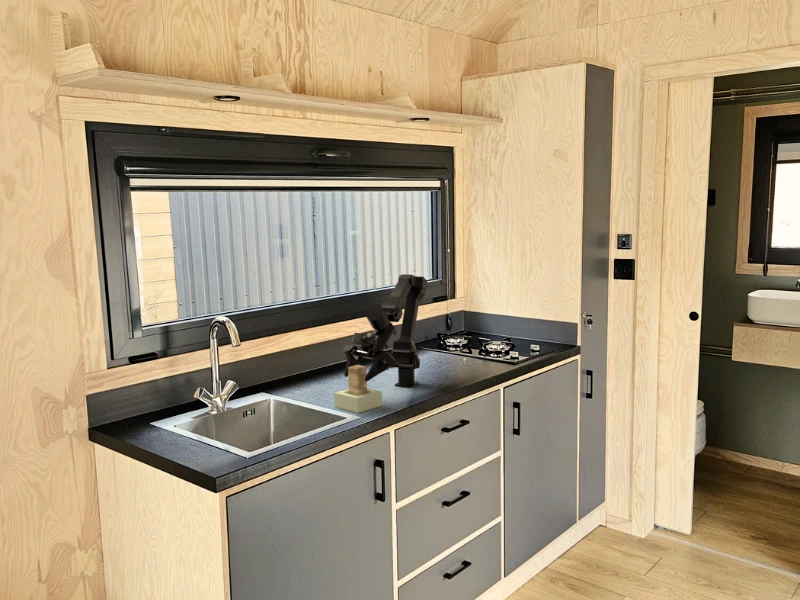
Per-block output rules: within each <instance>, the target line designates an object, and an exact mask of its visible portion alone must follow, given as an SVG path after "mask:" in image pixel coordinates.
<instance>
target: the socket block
mask: <svg viewBox="0 0 800 600" xmlns="http://www.w3.org/2000/svg"><path fill="white" fill-rule="evenodd" d="M382 392H383V391H381V390H377V389H374V388H373V389H372V388H368V387H367V393H366V394H363V395H359V396H356V395H352V394H349V388H346V389H343V390H340V391H335V392H334V394H333V397H334V408H337V409H341V410H345V411H348V412H353V413H356V414H359V413H362V412H366V411H369V410H372V409H374V408H379V407H381V406H383V395H382Z"/></svg>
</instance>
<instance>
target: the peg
mask: <svg viewBox="0 0 800 600" xmlns="http://www.w3.org/2000/svg"><path fill="white" fill-rule="evenodd" d="M367 373H368V371H367V366H365V365H360V364H359V365H355V366H351V367H348V376H347V377H348V389H349V394H352V395H356V396H359V395H363V394H366V393H367V388H368V381H367V382H366V381H365V377H366V375H367Z"/></svg>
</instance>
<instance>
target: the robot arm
mask: <svg viewBox="0 0 800 600" xmlns="http://www.w3.org/2000/svg"><path fill="white" fill-rule="evenodd" d="M397 280H398V281H397V282H396V284H395V286H394V288H393V289H392V291H391V293H390V295H389V297H388V298H386V299H384V300H383V301H381V303H380V302H379V303H378V302H375V303H374V305H373V306H370V307H369V308H368V309H367V310H366V311H365V318H366V320H367V321H368V323H369V324H370V326H371V328H372V329H373V331H372V332H368V333H367V334H364V333H360V332H354V333H353V336H352V340H351V343H353V344H354V345H353V344H346V345H345V346H344V347H343V349H342V351H343V353H344V355H345V356H346V365H345V368H344V369H345V371H344V373H343V374H344V375H343V376H344V377H345V378H347V377H348V367H351V366H355V365H360V364H361V362H362V361H363V359H367V360H368V359H369V360H372V364H371V366H370V367H369V370H368V371H367V375H366V377H365V381H366V382H367V383H368V382H369V381H371V380H372V379H373V378H375V377H377V376H378V375H380V374H381V373H383V372H385V371H388V370H389V369H395V368H397V378H398V379H397V382H396V383H394V387H404V388H405V387H406V388H412V387H415V386H416V385H417V384H418V383H419V381H418V380H417V381H416V379H415V378H416V377H415V373H416V372H415V370H417V369H420V366H421V359H420V357H419V356H418V353H417V350H418V349H417V347H416V344H415V342H414V339H415V338H414V337H415V332H416V331H415V330H416V325H417V320H418V319H417V318H418V312H419V305H420V302H421V300H422V299H423V298H424V297H425V295H426V291H427V290H428V286H429V282H428V280H427V279H426V278H425V277H424V276H419V275H418V276H416V275H413V274H407V273H406V274H405V273H404V274H400V275H398V279H397ZM404 302H405V303H404ZM403 304H404V308H402V306H403ZM403 309H404V310H403ZM402 316H403V317H402ZM401 319H402V323H401V327H400V334H399V338H398V339H397V340H394V341H393V343H392V345H393V346H392V350H391V352H389V351H386V350H388V348H389V346H388V343H389V341H390V339H391V338H392V336H393V335H394V336H396V335H397V329H396V328H397V327H396V326H395V325H394V324H393V323H399V322H400V320H401ZM355 344H357V345H358V347H359V348H358V347H357V345H355Z"/></svg>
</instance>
